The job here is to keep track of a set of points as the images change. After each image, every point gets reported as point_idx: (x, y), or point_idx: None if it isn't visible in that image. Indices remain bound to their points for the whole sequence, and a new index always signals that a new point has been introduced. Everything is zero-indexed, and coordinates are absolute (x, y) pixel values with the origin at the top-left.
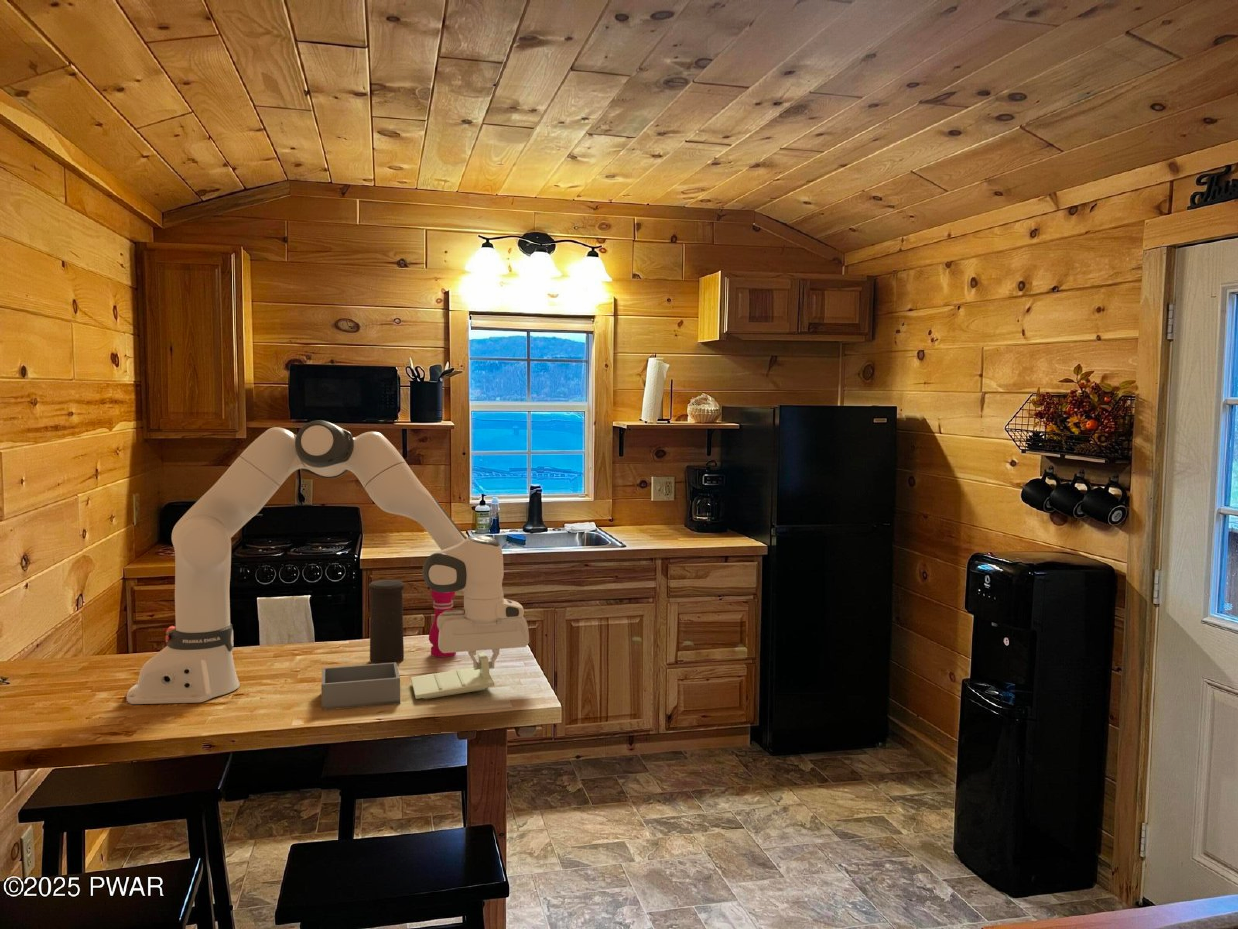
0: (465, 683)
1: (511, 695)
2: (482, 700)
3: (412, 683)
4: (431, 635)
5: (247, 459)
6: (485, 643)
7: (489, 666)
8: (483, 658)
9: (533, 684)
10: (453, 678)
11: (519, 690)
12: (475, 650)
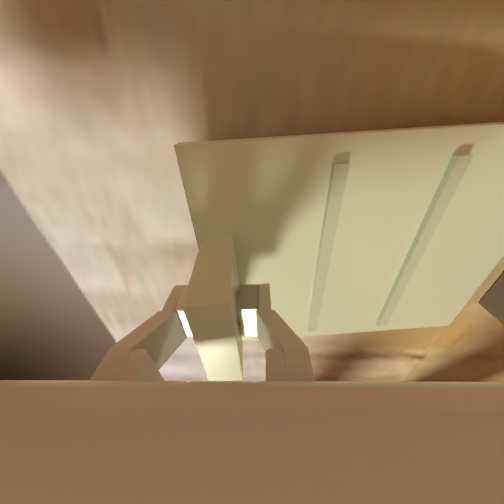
0: (321, 199)
1: (117, 128)
2: (250, 76)
3: (485, 278)
4: None
5: None
6: (164, 459)
7: None
8: (216, 314)
9: (67, 240)
10: (345, 275)
11: (99, 188)
12: (272, 383)
